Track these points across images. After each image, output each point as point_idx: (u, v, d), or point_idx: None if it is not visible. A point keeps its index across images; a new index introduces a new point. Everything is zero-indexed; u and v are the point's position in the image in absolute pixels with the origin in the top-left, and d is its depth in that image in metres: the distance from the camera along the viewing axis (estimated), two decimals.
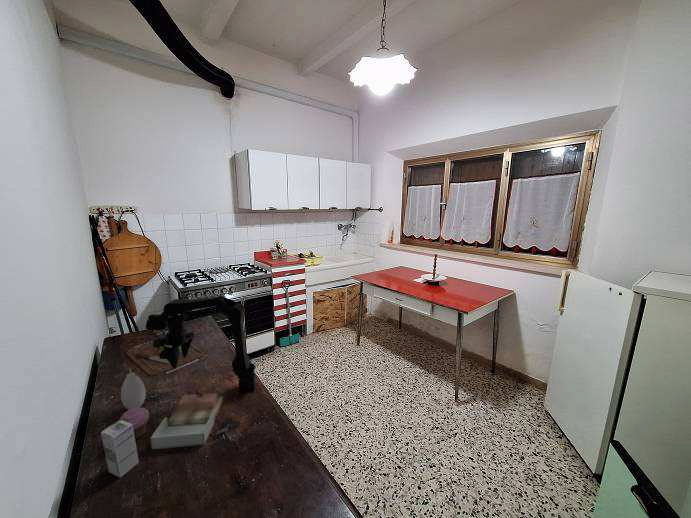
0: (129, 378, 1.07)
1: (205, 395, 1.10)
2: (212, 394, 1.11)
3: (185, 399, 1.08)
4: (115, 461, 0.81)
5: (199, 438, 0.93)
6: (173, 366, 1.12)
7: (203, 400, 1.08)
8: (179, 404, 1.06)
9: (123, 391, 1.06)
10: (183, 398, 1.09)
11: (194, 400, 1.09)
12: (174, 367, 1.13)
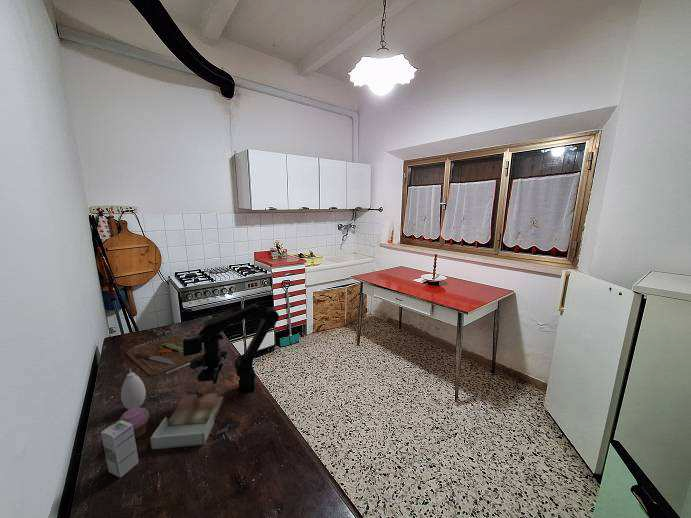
0: (129, 378, 1.07)
1: (205, 395, 1.10)
2: (212, 394, 1.11)
3: (185, 399, 1.08)
4: (115, 461, 0.81)
5: (199, 438, 0.93)
6: (214, 381, 1.15)
7: (203, 400, 1.08)
8: (179, 404, 1.06)
9: (123, 391, 1.06)
10: (183, 398, 1.09)
11: (194, 400, 1.09)
12: (214, 382, 1.16)
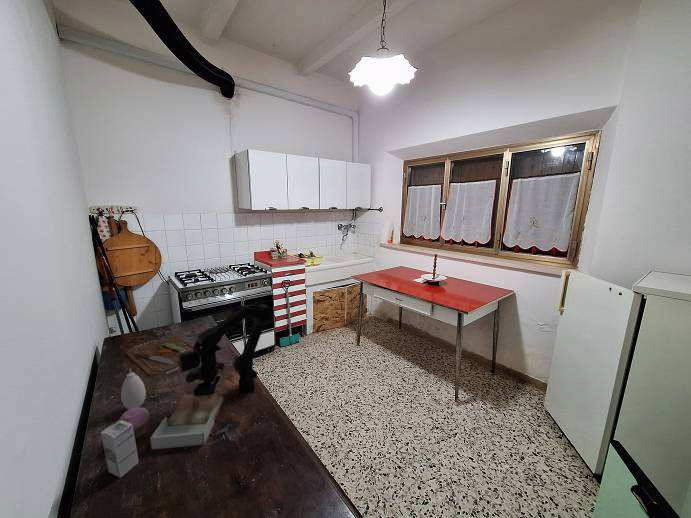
0: (129, 378, 1.07)
1: (205, 396, 1.10)
2: (212, 395, 1.11)
3: (185, 399, 1.08)
4: (115, 461, 0.81)
5: (199, 438, 0.93)
6: None
7: (203, 400, 1.07)
8: (179, 404, 1.06)
9: (123, 391, 1.06)
10: (183, 398, 1.09)
11: (194, 400, 1.09)
12: None
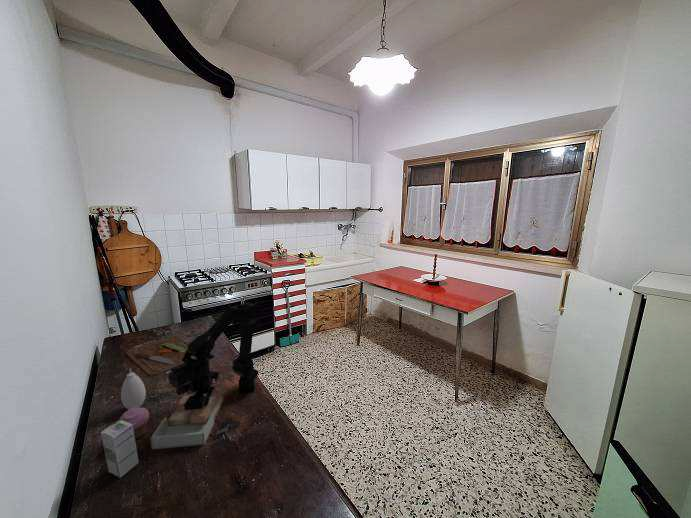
0: (129, 378, 1.07)
1: None
2: (204, 407, 1.04)
3: (185, 399, 1.08)
4: (115, 461, 0.81)
5: (199, 438, 0.93)
6: None
7: (194, 414, 1.00)
8: (179, 404, 1.06)
9: (123, 391, 1.06)
10: (183, 398, 1.09)
11: None
12: None
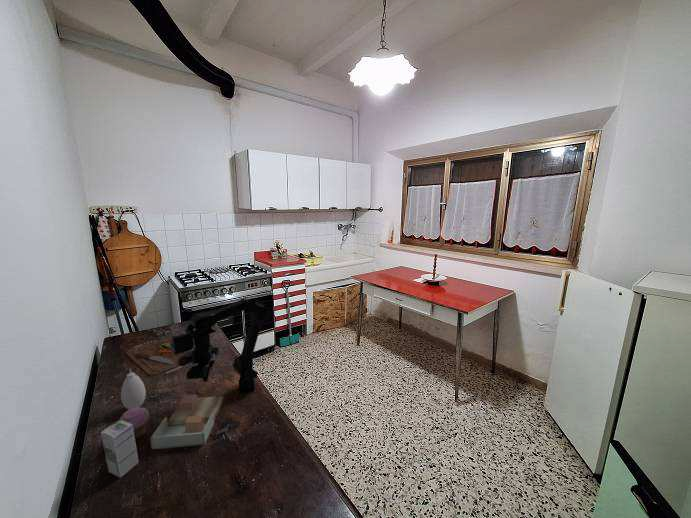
0: (129, 378, 1.07)
1: (187, 425, 0.96)
2: (194, 424, 0.96)
3: (185, 399, 1.08)
4: (115, 461, 0.81)
5: (199, 438, 0.93)
6: (204, 379, 1.08)
7: (188, 432, 0.97)
8: (179, 404, 1.06)
9: (123, 391, 1.06)
10: (183, 398, 1.09)
11: (194, 400, 1.09)
12: (205, 380, 1.08)
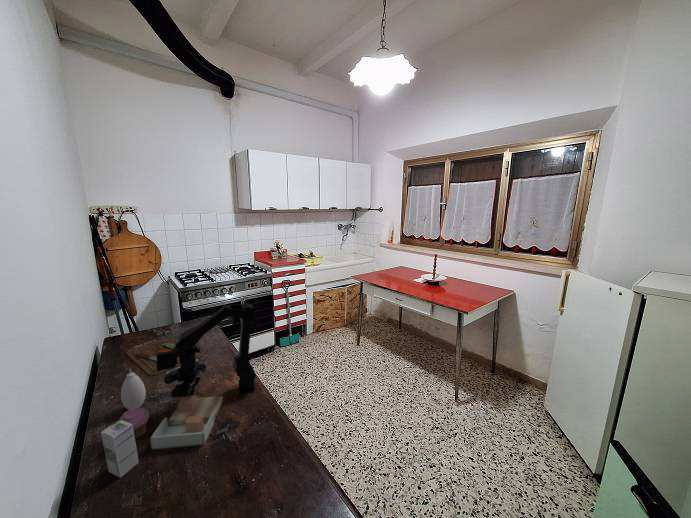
0: (129, 378, 1.07)
1: (187, 425, 0.96)
2: (194, 424, 0.96)
3: (185, 400, 1.08)
4: (115, 461, 0.81)
5: (199, 438, 0.93)
6: None
7: (188, 432, 0.97)
8: (179, 405, 1.05)
9: (123, 391, 1.06)
10: (182, 398, 1.08)
11: (194, 401, 1.08)
12: None
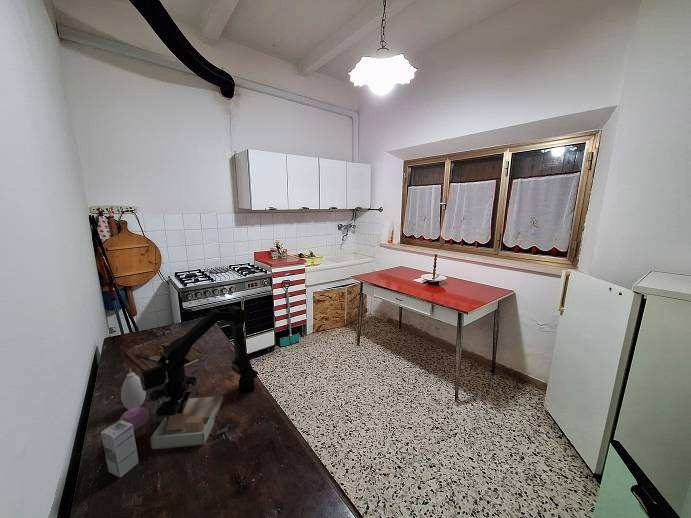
0: (129, 378, 1.07)
1: (187, 425, 0.96)
2: (194, 424, 0.96)
3: (173, 422, 0.98)
4: (115, 461, 0.81)
5: (199, 438, 0.93)
6: (178, 413, 1.01)
7: (188, 432, 0.97)
8: (168, 430, 0.97)
9: (123, 391, 1.06)
10: (169, 419, 0.98)
11: (183, 420, 0.99)
12: None
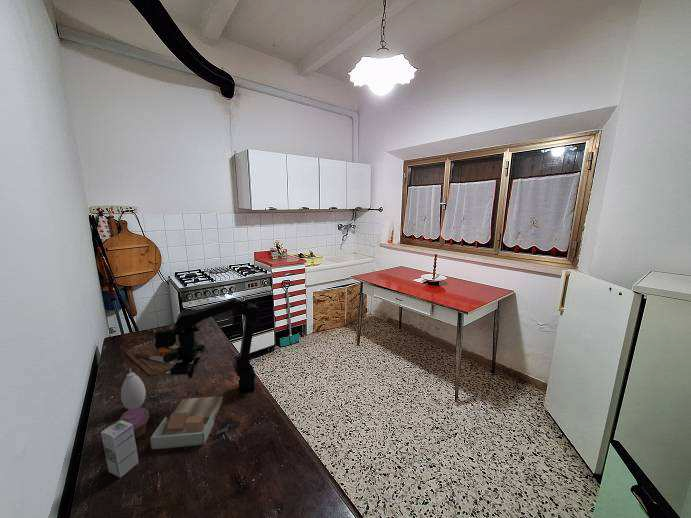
0: (129, 378, 1.07)
1: (187, 425, 0.96)
2: (194, 424, 0.96)
3: (174, 420, 0.98)
4: (115, 461, 0.81)
5: (199, 438, 0.93)
6: (189, 375, 1.10)
7: (188, 432, 0.97)
8: (168, 428, 0.97)
9: (123, 391, 1.06)
10: (171, 418, 0.99)
11: (184, 420, 1.00)
12: (190, 376, 1.11)
